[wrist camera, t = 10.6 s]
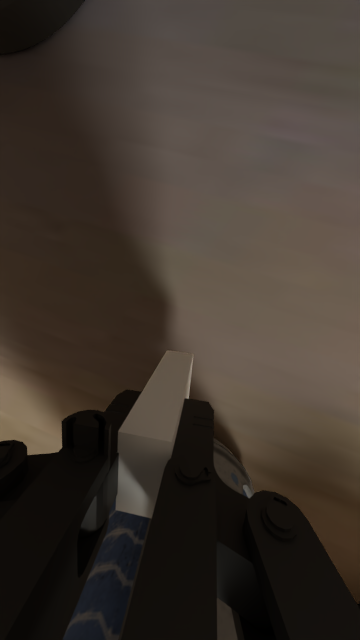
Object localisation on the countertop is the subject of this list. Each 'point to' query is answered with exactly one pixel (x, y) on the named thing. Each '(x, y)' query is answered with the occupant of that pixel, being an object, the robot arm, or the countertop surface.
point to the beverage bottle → (123, 564)
